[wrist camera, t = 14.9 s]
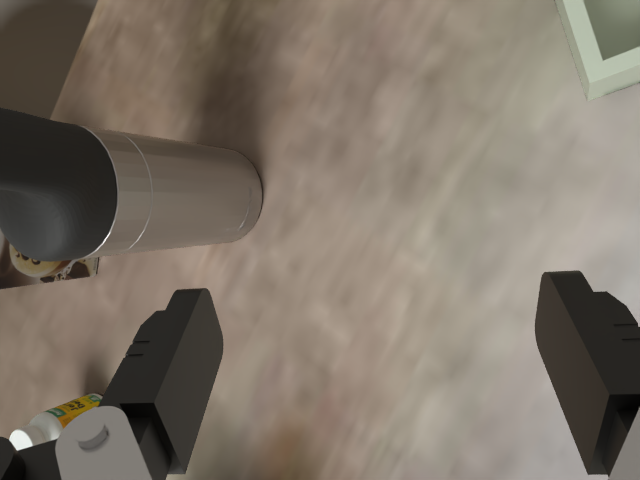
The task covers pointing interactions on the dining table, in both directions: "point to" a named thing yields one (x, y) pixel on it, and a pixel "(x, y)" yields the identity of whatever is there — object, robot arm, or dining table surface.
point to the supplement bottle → (52, 422)
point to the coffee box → (38, 268)
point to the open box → (603, 43)
